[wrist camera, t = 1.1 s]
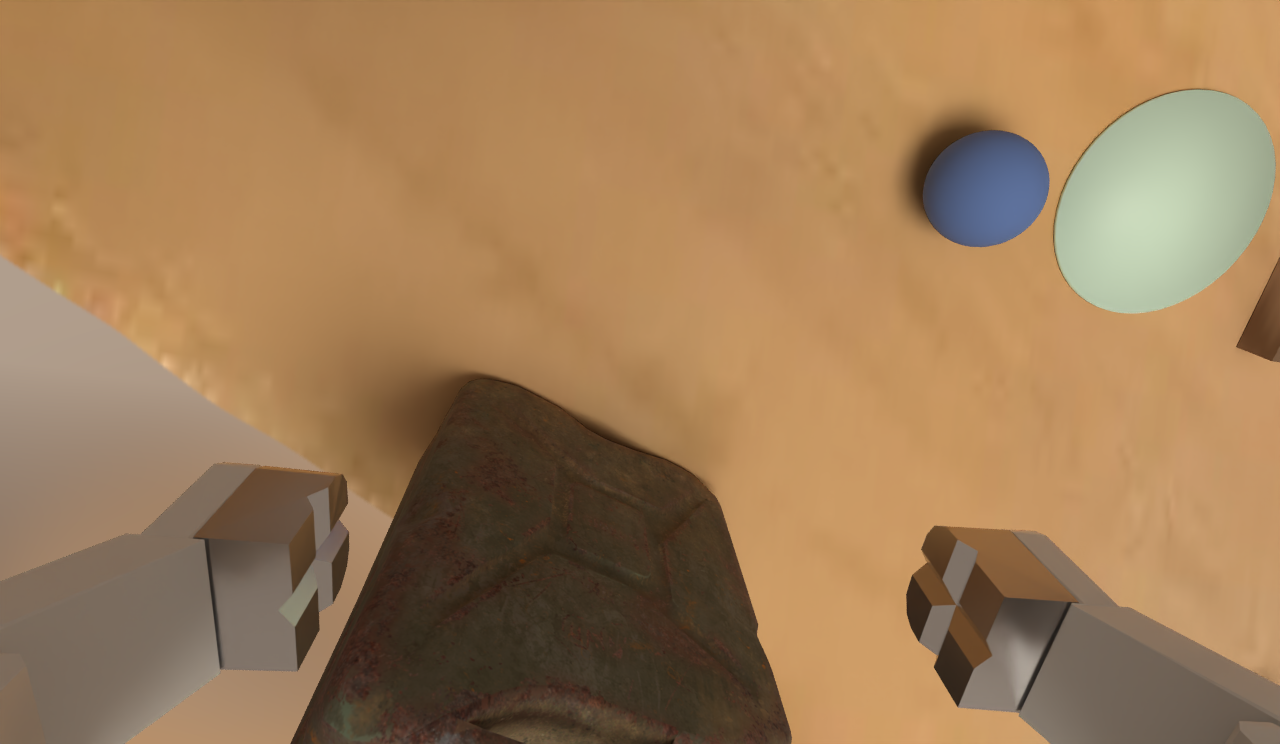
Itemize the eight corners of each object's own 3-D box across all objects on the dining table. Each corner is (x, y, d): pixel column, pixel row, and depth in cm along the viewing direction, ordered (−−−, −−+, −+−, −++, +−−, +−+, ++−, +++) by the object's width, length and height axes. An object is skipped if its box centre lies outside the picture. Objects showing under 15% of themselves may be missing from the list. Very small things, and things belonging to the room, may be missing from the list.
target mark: (1102, 75, 37) (1105, 74, 37) (1313, 105, 38) (1316, 105, 38) (1023, 302, 42) (1025, 302, 42) (1212, 321, 43) (1214, 322, 43)
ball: (920, 120, 37) (977, 126, 32) (1022, 134, 38) (1094, 142, 32) (892, 229, 40) (941, 252, 34) (988, 240, 40) (1051, 264, 35)
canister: (417, 461, 44) (220, 878, 21) (474, 355, 41) (322, 696, 18) (664, 570, 48) (727, 1010, 25) (728, 482, 46) (865, 882, 23)
